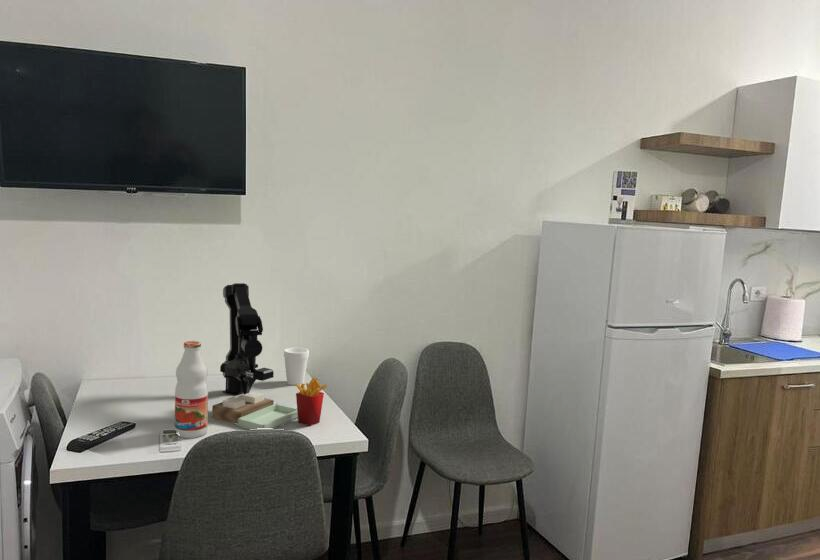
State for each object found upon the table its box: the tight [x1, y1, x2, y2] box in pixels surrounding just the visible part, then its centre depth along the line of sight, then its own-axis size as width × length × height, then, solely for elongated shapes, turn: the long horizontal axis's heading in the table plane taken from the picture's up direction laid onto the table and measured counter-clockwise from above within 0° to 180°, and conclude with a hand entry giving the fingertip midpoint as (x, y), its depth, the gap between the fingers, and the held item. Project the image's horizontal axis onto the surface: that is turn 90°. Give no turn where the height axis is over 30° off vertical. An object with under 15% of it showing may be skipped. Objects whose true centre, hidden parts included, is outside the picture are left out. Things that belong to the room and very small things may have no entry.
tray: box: [237, 403, 298, 430], centre depth 214 cm, size 11×19×2 cm, turn 153°
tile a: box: [242, 391, 266, 403], centre depth 222 cm, size 5×5×2 cm
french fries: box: [295, 377, 328, 427], centre depth 214 cm, size 9×8×15 cm
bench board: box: [211, 394, 275, 425], centre depth 219 cm, size 12×16×4 cm
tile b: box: [222, 395, 245, 409], centre depth 215 cm, size 5×5×2 cm
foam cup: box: [283, 347, 310, 386], centre depth 258 cm, size 10×9×13 cm
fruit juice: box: [174, 340, 209, 439], centre depth 198 cm, size 9×9×28 cm
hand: (246, 395), depth 223 cm, fingers closed
